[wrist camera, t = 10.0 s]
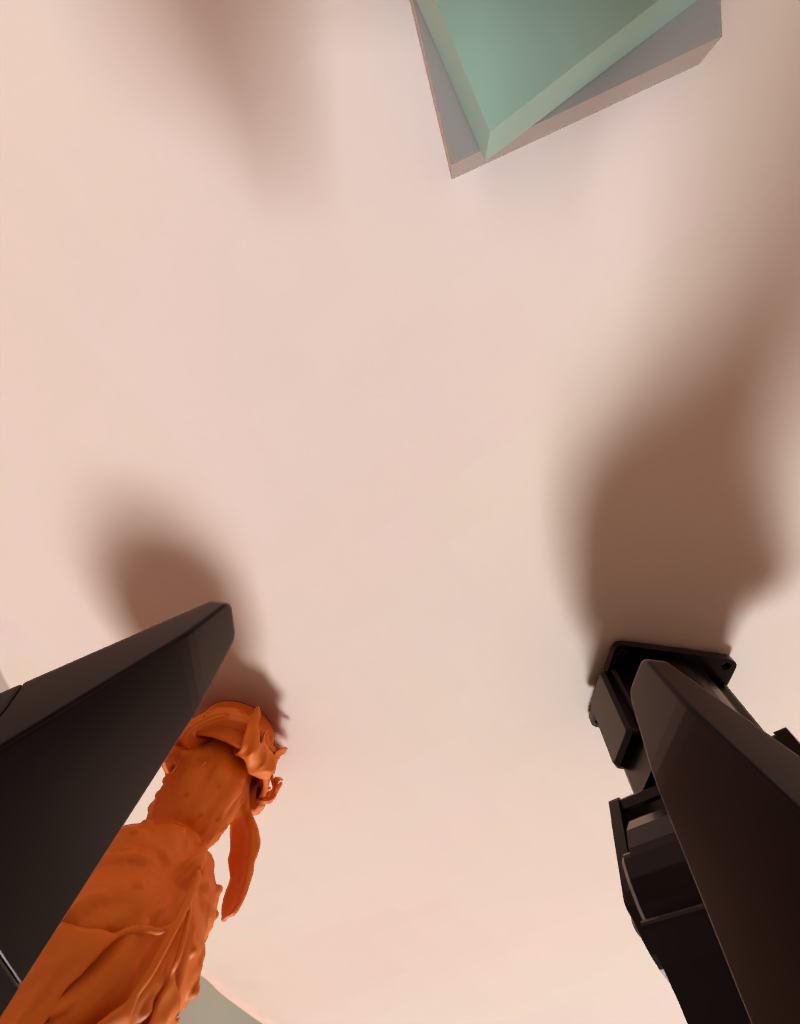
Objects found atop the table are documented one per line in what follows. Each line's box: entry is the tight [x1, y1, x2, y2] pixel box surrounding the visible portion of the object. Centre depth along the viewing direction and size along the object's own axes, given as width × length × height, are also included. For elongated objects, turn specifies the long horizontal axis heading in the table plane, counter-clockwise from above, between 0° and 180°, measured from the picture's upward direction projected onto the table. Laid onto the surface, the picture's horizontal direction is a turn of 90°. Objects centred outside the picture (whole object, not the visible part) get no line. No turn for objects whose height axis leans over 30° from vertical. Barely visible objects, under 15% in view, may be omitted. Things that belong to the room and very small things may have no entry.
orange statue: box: [0, 701, 288, 1024], centre depth 22 cm, size 11×11×18 cm
